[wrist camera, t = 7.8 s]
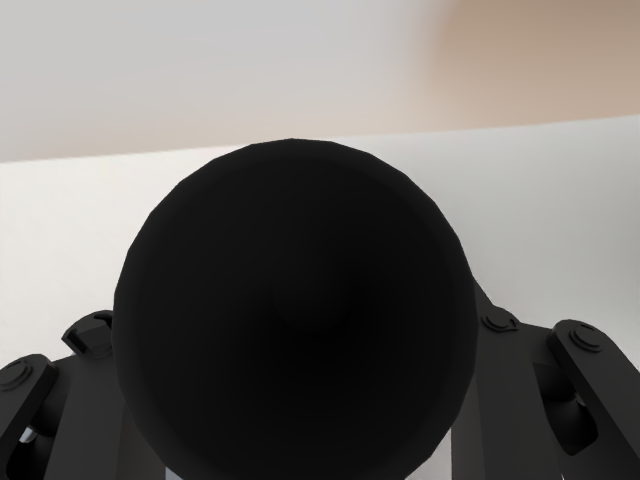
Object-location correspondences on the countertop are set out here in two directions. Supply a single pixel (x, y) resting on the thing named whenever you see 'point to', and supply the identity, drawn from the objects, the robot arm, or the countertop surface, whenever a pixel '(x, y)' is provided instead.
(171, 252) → the cup
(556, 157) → the countertop surface
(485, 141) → the countertop surface
